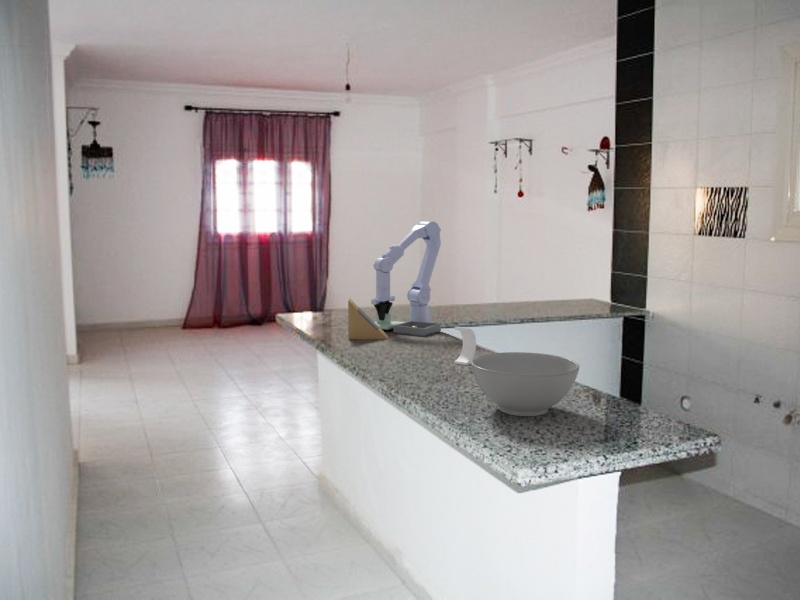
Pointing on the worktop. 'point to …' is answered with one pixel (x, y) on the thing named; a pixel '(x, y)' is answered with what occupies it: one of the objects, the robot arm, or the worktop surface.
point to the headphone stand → (466, 346)
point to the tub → (421, 329)
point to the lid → (386, 322)
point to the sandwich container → (362, 324)
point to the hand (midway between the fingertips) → (383, 319)
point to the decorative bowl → (524, 380)
